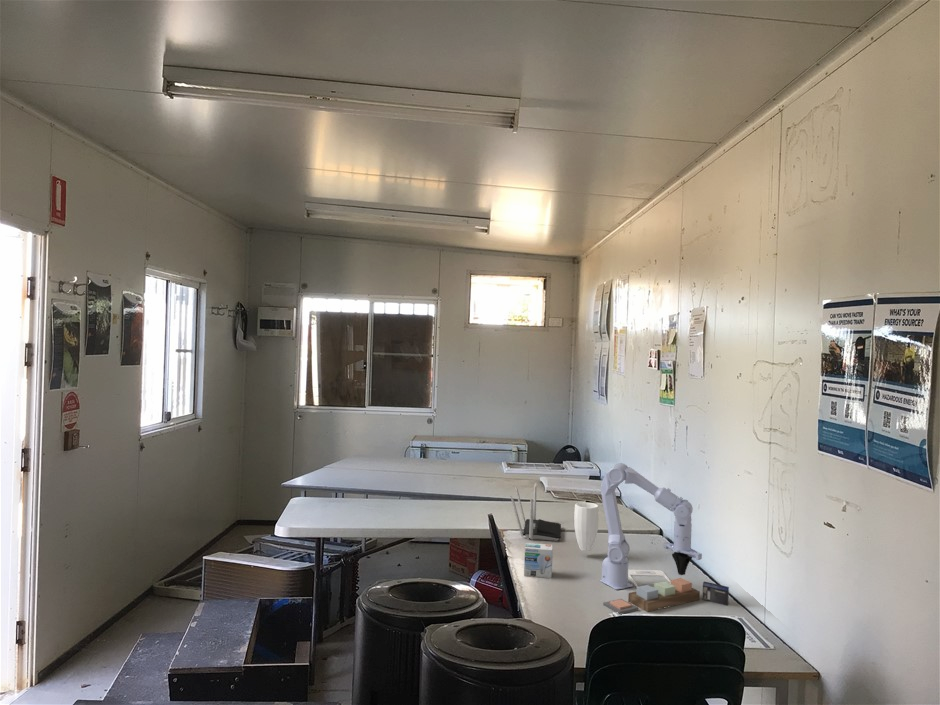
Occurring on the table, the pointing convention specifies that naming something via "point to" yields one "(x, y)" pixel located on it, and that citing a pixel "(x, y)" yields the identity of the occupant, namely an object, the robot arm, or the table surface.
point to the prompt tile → (620, 606)
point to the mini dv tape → (715, 593)
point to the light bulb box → (538, 560)
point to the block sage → (664, 588)
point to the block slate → (647, 592)
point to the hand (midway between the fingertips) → (681, 574)
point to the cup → (586, 524)
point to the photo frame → (645, 574)
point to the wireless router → (536, 523)
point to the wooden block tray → (663, 600)
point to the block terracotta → (681, 585)
